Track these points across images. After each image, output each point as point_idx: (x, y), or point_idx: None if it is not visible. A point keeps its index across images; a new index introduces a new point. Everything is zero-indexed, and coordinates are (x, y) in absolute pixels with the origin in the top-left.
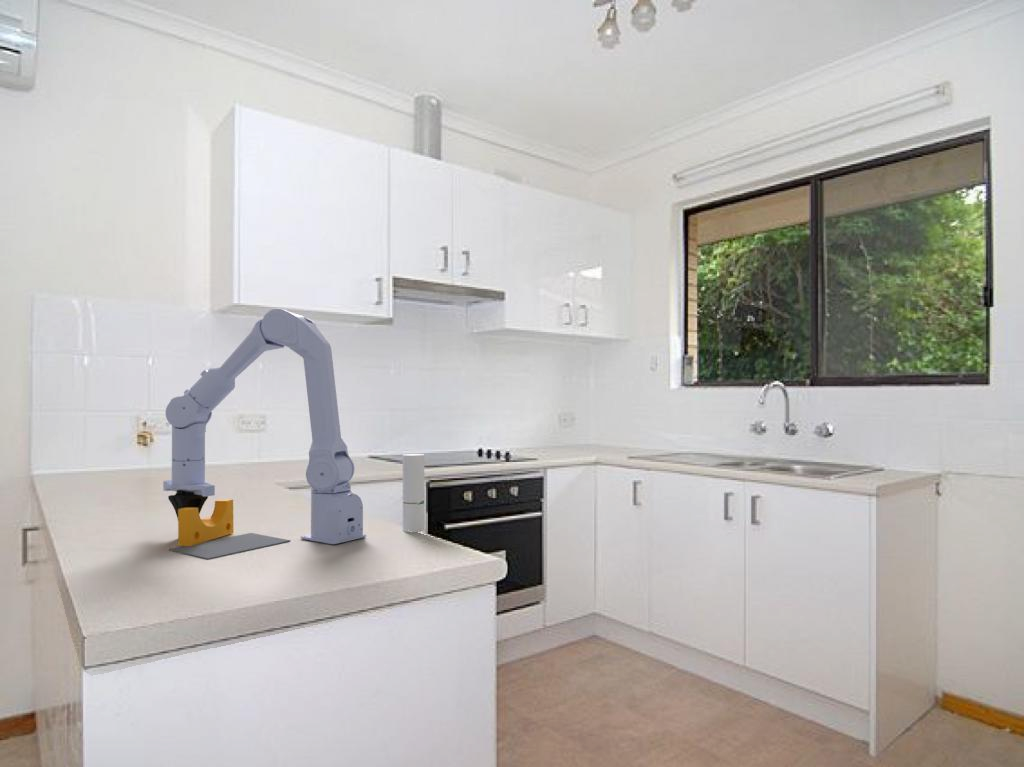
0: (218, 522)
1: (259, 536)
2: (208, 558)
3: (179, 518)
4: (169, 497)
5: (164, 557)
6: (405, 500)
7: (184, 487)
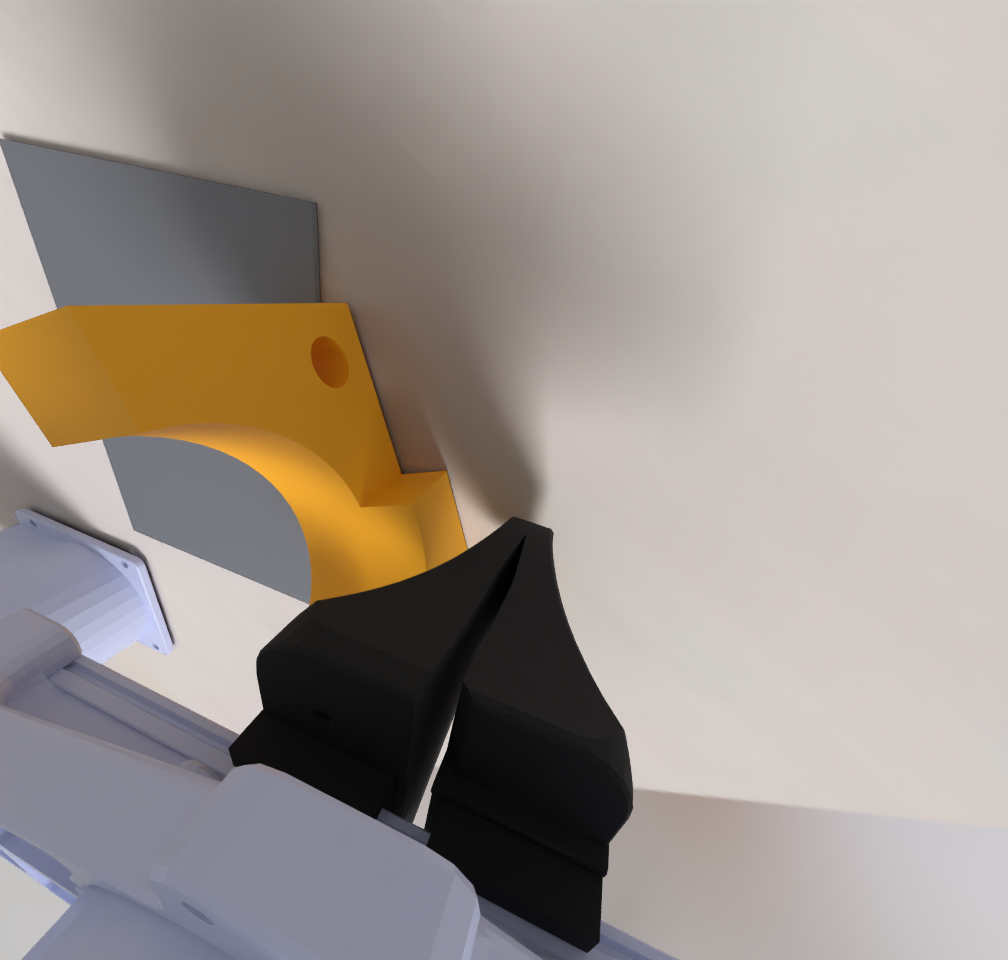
0: (315, 573)
1: (250, 563)
2: (2, 143)
3: (175, 309)
4: (569, 727)
5: (165, 30)
6: None
7: (87, 786)
